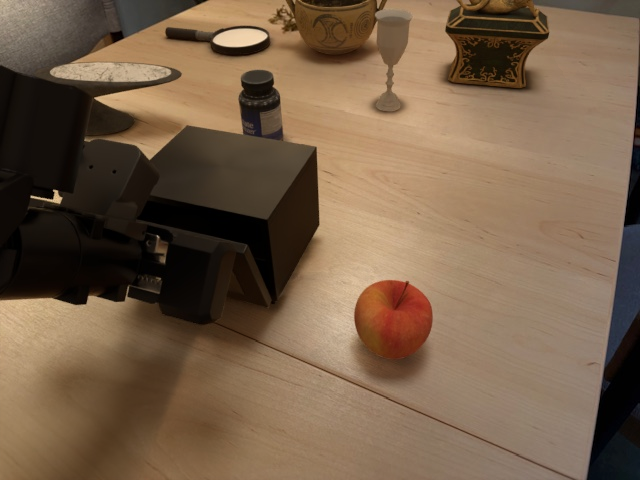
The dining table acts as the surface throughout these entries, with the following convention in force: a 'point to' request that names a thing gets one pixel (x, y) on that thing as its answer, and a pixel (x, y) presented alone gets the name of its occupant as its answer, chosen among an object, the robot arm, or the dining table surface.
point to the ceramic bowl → (335, 23)
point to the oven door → (238, 272)
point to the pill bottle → (260, 105)
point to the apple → (393, 318)
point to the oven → (240, 195)
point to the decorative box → (494, 41)
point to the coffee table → (108, 87)
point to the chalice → (391, 49)
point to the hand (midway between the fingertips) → (173, 260)
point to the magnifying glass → (227, 38)
